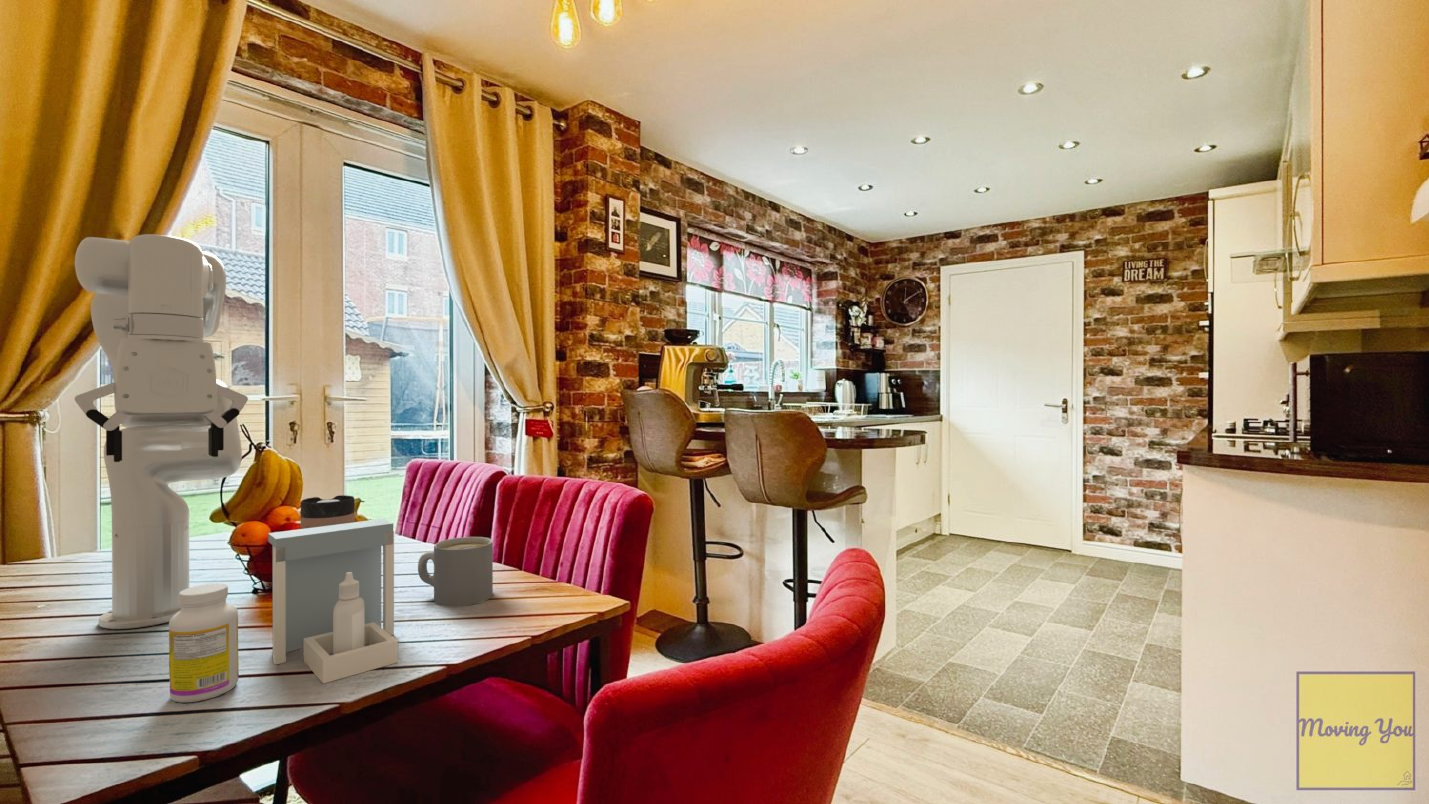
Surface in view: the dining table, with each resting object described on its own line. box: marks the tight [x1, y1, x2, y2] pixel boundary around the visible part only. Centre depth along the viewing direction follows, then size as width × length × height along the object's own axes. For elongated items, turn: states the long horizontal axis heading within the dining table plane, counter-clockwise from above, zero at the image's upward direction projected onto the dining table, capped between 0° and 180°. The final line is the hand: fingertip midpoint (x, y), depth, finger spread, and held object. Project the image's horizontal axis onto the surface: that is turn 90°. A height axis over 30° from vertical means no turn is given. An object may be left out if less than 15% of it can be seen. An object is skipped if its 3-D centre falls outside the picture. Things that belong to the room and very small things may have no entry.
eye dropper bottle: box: [333, 572, 365, 655], centre depth 86 cm, size 4×6×12 cm
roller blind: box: [267, 518, 395, 665], centre depth 92 cm, size 5×15×17 cm, turn 135°
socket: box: [303, 622, 399, 684], centre depth 86 cm, size 10×9×3 cm
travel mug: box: [299, 494, 356, 529], centre depth 101 cm, size 8×8×20 cm
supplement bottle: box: [168, 583, 240, 703], centre depth 77 cm, size 7×7×13 cm
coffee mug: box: [417, 536, 494, 608], centre depth 114 cm, size 13×10×10 cm
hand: (167, 458), depth 83 cm, fingers open, 9 cm apart
